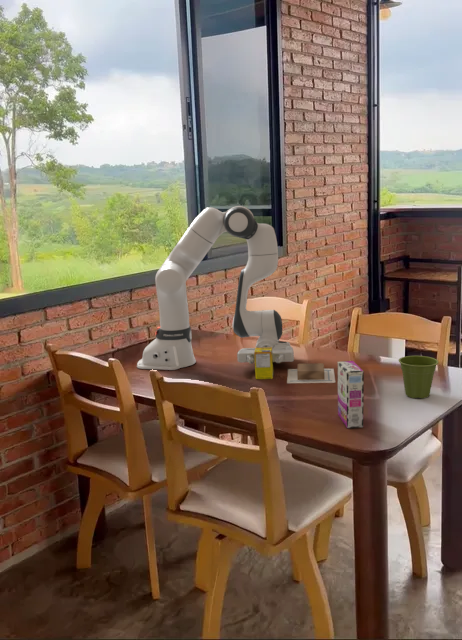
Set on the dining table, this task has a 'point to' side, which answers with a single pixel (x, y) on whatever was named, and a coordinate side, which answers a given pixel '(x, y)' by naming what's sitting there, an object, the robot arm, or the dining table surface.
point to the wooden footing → (310, 371)
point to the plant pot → (418, 375)
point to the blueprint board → (328, 378)
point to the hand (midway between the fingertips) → (264, 361)
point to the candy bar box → (350, 394)
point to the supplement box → (263, 363)
